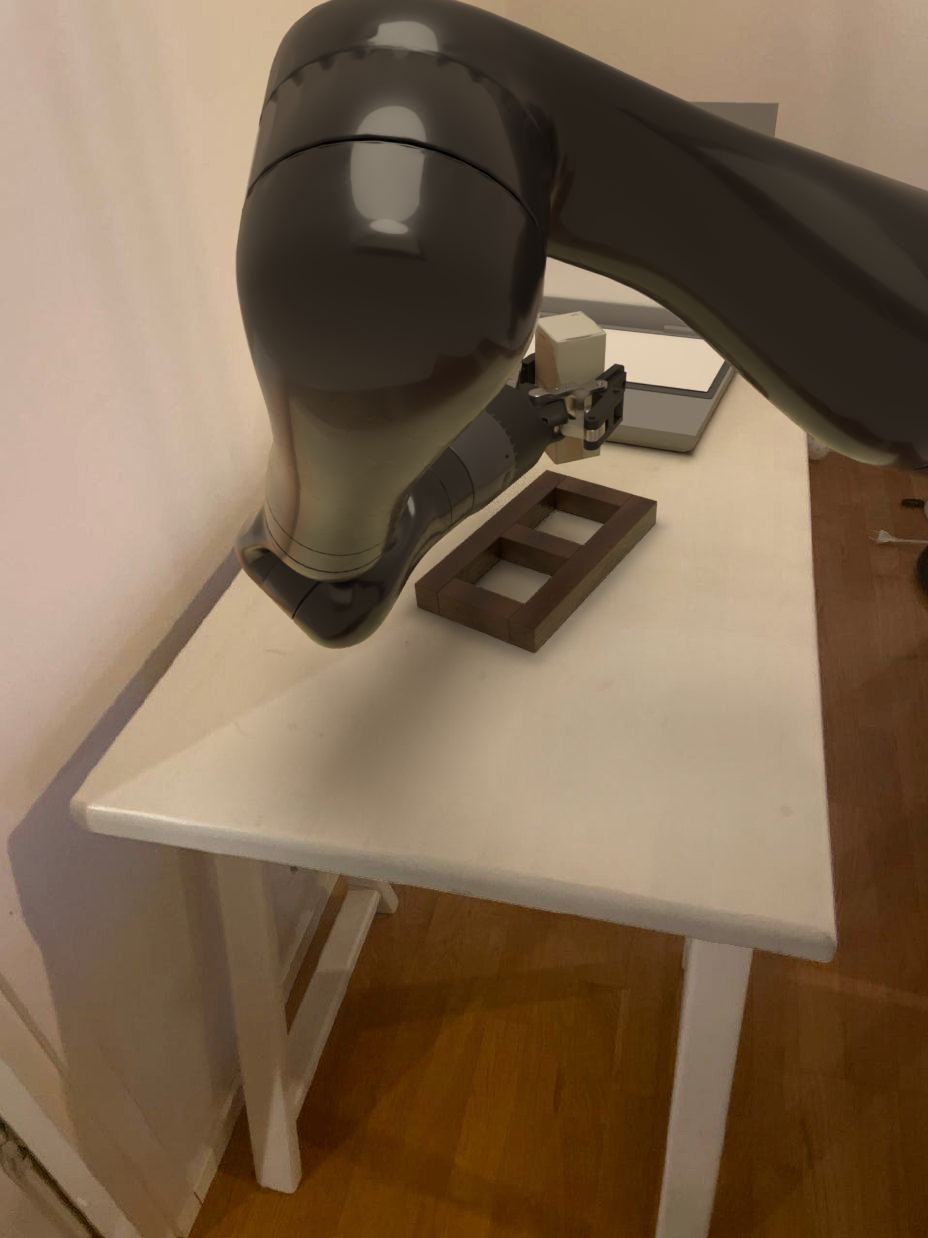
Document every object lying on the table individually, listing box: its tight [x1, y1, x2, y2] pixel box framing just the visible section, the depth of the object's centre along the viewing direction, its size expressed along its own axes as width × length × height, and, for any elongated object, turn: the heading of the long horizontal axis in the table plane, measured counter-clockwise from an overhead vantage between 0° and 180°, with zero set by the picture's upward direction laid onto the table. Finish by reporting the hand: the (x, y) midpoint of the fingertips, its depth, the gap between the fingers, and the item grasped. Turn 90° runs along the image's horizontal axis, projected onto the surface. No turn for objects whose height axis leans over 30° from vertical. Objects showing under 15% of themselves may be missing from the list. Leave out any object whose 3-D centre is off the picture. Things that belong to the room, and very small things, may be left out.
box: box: [535, 311, 606, 466], centre depth 78 cm, size 5×4×11 cm
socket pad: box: [413, 469, 658, 653], centre depth 85 cm, size 12×22×2 cm, turn 145°
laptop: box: [523, 100, 780, 453], centre depth 105 cm, size 35×26×28 cm
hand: (582, 367), depth 79 cm, fingers closed on box, 6 cm apart
